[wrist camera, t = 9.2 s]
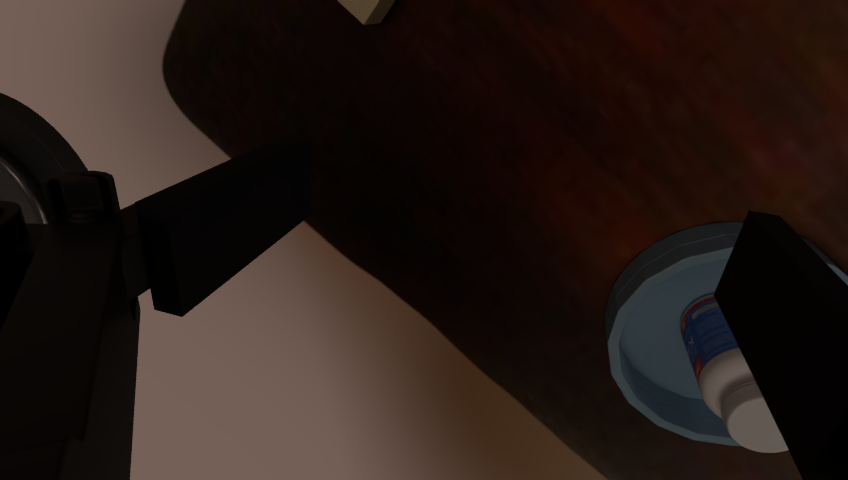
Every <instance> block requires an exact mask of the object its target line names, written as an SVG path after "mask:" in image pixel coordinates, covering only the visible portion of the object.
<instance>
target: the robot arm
mask: <svg viewBox="0 0 848 480" xmlns="http://www.w3.org/2000/svg"><path fill="white" fill-rule="evenodd" d="M311 214H312V151H311V136H305V135H300V134H294V133H289V134H286V135H284V136H282V137H280V138H278V139H275V140H273V141H271V142H269V143H266V144H264V145H262V146H260V147H257V148H255V149H253V150H251V151H249V152H246V153H244V154H242V155H240V156H237V157H235V158H233V159H231V160H228V161H226V162H224V163H222V164H219V165H218V166H215V167H213V168H211V169H208V170H206V171H204V172H202V173H199V174H197V175H195V176H193V177H190V178H188V179H186V180H184V181H182V182H179V183H177V184H175V185H173V186H170V187H168V188H166V189H164V190H162V191H159V192H157V193H155V194H152V195H150V196H148V197H146V198H144V199H142V200H139V201H137V202H135V203H134V204H132V205H130V206H128V207H126V208H124V209H121V210H120V207H119V202H118V197H117V192H116V187H115V182H114V178H113V176H112V175H110V174H108V173H106V172H99V171H75V172H67V173H62V174H57V175H54V176H51V177H49V178H46V179H44V180H43V181H42V182H41V183H40V184H39V182H38V181H37V180H36V178H35V177H34V176H33V174H32V173H31V172H30V171H29V170H28V169H27V167H26V166H25V165H24V164H23V163H22V162H21V161H20V160H19V159H18V158H16V157H15V156H14V155H13V154H12V153H11V152H9V151H8V150H7V149H5V148H4V147H2V146H1V145H0V480H130V467H131V451H132V435H133V417H134V404H135V387H136V372H137V356H138V340H139V323H140V306H139V301H138V296H139V295H141V294H142V293H144V292H145V291H147V290H148V289H151V294H152V299H153V305H154V309H155V310H158V311H162V312H166V313H170V314H173V315H177V316H181V317H183V316H184V315H185V314H186V313H188V312H189V311H190V310H191V309H193V308H194V307H195V306H197V305H198V304H199V303H200V302H201V301H203V300H204V299H205V298H207V297H208V296H209V295H210V294H212V293H213V292H214V291H215V290H217V289H218V288H219V287H220V286H222V285H223V284H224V283H225V282H227V281H228V280H229V279H230V278H232V277H233V276H234V275H235V274H237V273H238V272H239V271H241V270H242V269H243V268H244V267H246V266H247V265H248V264H249V263H251V262H252V261H253V260H254V259H256V258H257V257H258V256H259V255H261V254H262V253H263V252H264V251H266V250H267V249H268V248H270V247H271V246H272V245H273V244H274V243H276V242H277V241H278V240H280V239H281V238H282V237H283V236H285V235H286V234H287V233H288V232H290V231H291V230H292V229H293V228H295V227H296V226H297V225H298V224H300V223H301V222H302V221H303V220H305V219H306V218H307V217H309V216H310V215H311ZM714 297H715V299H716V301H717V303H718V305H719V307H720V309H721V311H722V314H723V316H724V318H725V320H726V322H727V324H728V326H729V328H730V330H731V332H732V334H733V336H734V338H735V340H736V342H737V344H738V347H739V349H740V351H741V353H742V355H743V357H744V359H745V361H746V363H747V365H748V367H749V369H750V371H751V373H752V375H753V377H754V379H755V382H756V384H757V386H758V388H759V390H760V392H761V394H762V396H763V398H764V400H765V402H766V404H767V406H768V408H769V410H770V412H771V415H772V417H773V419H774V421H775V423H776V425H777V427H778V429H779V431H780V433H781V435H782V437H783V439H784V441H785V443H786V445H787V447H788V450H789V452H790V454H791V456H792V458H793V460H794V462H795V464H796V466H797V468H798V470H799V472H800V474H801V476H802V478H803V480H848V285H847V284H846V283H845V282H844V281H843V280H842V279H841V278H840V277H839V276H838V275H837V274H836V273H835V272H834V271H833V270H832V269H831V268H830V267H829V266H828V265H827V264H826V263H825V262H824V261H823V260H822V259H821V257H820V256H819V255H818V254H817V253H816V252H815V251H814V250H813V249H812V248H811V247H810V246H809V245H808V244H807V243H806V242H805V241H804V240H803V239H802V238H801V237H800V236H799V235H798V234H797V233H796V232H795V231H794V230H793V229H792V228H791V227H790V226H789V225H788V224H787V223H786V222H785V221H784V220H783V219H782V218H781V217H780V216H777V215H771V214H766V213H760V212H754V211H748V214H747V216H746V219H745V221H744V223H743V226H742V228H741V231H740V233H739V235H738V238H737V240H736V242H735V245H734V247H733V250H732V252H731V254H730V257H729V259H728V262H727V264H726V266H725V269H724V271H723V273H722V276H721V278H720V281H719V283H718V285H717V288H716V290H715V293H714Z"/></svg>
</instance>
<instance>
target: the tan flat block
mask: <svg viewBox="0 0 848 480" xmlns="http://www.w3.org/2000/svg"><path fill="white" fill-rule="evenodd" d="M337 1H338V2H339V3H340V4H342V5H343V6H344V7H345V8H346V9H347V10H348V11H349V12H350V13H351V14H352V15H354V16H355V17H356V18H357V19H358V20H359V21H360V22H361V23H362V24H364V25H366V24H377V23H381V21H382V20H383V18H384V17H385V15H386V14H387V12H388V11H389V9H390V8H391V6H392V5H393V3H394V2H395V0H337Z"/></svg>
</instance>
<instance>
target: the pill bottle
mask: <svg viewBox="0 0 848 480" xmlns="http://www.w3.org/2000/svg"><path fill="white" fill-rule="evenodd" d="M680 330H681V335H682V339H683V342H684V344H685V347H686V351H687V353H688V356H689V359H690V362H691V365H692V368H693V371H694V374H695V377H696V380H697V383H698V386H699V390H700V392H701V395H702V397H703V400H704V402H705V403H706V405H707V406H708V407H709V409H710V410H711V411H712V412H713V413H715V414H716V415H717V416H719V417H720V418H722V419H723V421H724V423H725V425H726V427H727V430H728V432H729V434H730V436H731V437H732V438H733V439H734V440H735V441H736V442H737V443H738V444H740V445H741V446H743V447H745V448H747V449H750V450H753V451H757V452H764V453H776V452H782V451H787V450H788V447H787V445H786V443H785V441H784V439H783V437H782V435H781V433H780V431H779V429H778V427H777V425H776V423H775V421H774V419H773V417H772V415H771V412H770V410H769V408H768V406H767V404H766V402H765V400H764V398H763V396H762V394H761V392H760V390H759V388H758V386H757V384H756V382H755V379H754V377H753V375H752V373H751V371H750V369H749V367H748V365H747V363H746V361H745V359H744V357H743V355H742V353H741V351H740V349H739V347H738V344H737V342H736V340H735V338H734V336H733V334H732V332H731V330H730V328H729V326H728V324H727V322H726V320H725V318H724V316H723V314H722V311H721V309H720V307H719V305H718V303H717V301H716V299H715V297H714V294H710V295H707V296H704V297H702V298H700V299H698V300H696V301H695V302H693V303H692V304H691V305H690V306H689V307H688V308H687V309H686V310H685V312H684V314H683V316H682V318H681V323H680Z"/></svg>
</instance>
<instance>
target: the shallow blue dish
mask: <svg viewBox="0 0 848 480" xmlns="http://www.w3.org/2000/svg"><path fill="white" fill-rule="evenodd" d="M743 223H744V222H724V223H714V224H707V225H701V226H697V227H693V228H690V229H686V230H683V231H680V232H678V233H675V234H673V235H670V236H668V237H666V238H664V239H662V240H660V241H658V242H656V243H655V244H653V245H652V246H650V247H649V248H647V249H646V250H644V251H643V252H642V253H640V254H639V255H638V256H637V257H636V258H635V259H633V260H632V261H631V262H630V264H629V265H628V266H627V267H626V268H625V269H624V270H623V271H622V273H621V274H620V276H619V277H618V279H617V280H616V282H615V284H614V286H613V288H612V290H611V293H610V296H609V299H608V302H607V307H606V311H605V315H604V316H605V325H606V335H607V344H608V352H609V361H610V369H611V374H612V376H613V378H614V380H615V381H616V383H617V385H618V386H619V388H620V390H621V391H622V393H623V394H624V396H625V398H626V399H627V401H628V402H629V403H630V404H631V405H632V406H633V407H635V408H636V409H637V410H638V411H640V412H641V413H642V414H643V415H645V416H646V417H647V418H648V419H650V420H651V421H652V422H653V423H655V424H656V425H657V426H660V427H662V428H665V429H667V430H670V431H672V432H674V433H677V434H679V435H682V436H684V437H687V438H689V439H692V440H696V441H703V442H710V443H717V444H724V445H731V446H741V445H740V444H738V443H737V442H736V441H735V440H734V439H733V438H732V437H731V436H730V434H729V432H728V430H727V427H726V425H725V423H724V421H723V419H722V418H720V417H719V416H717V415H716V414H715V413H713V412H712V411H711V410H710V409H709V407H708V406H707V405H706V403H705V402H704V400H703V397H702V395H701V392H700V390H699V386H698V383H697V380H696V377H695V374H694V371H693V368H692V365H691V362H690V359H689V356H688V353H687V351H686V347H685V344H684V342H683V339H682V335H681V330H680V323H681V318H682V316H683V314H684V312H685V310H686V309H687V308H688V307H689V306H690V305H691V304H692V303H693V302H695V301H696V300H698V299H700V298H702V297H704V296H707V295H710V294H714V293H715V290H716V288H717V285H718V283H719V281H720V278H721V276H722V273H723V271H724V269H725V266H726V264H727V262H728V259H729V257H730V254H731V252H732V250H733V247H734V245H735V242H736V240H737V238H738V235H739V233H740V231H741V228H742V226H743ZM801 238H802V237H801ZM802 239H803V240H804V241H805V242H806V243H807V244H808V245H809V246H810V247H811V248H812V249H813V250H814V251H815V252H816V253H817V254H818V255H819V256H820V257H821V259H822V260H823V261H824V262H825V263H826V264H827V265H828V266H829V267H830V268H831V269H832V270H833V271H834V272H835V273H836V274H837V275H838V276H839V277H840V278H841V279H842V280H843V281H844V282H845V283H846V284H847V285H848V273H847V272H846V271H845V270H844V269H843V268H842V267H840V266H839V265H838V264H837V263H836V262H835V261H834V260H832V259H831V258H830V257H829V256H828V255H827V254H825V253H824V252H823V251H822V250H821V249H819V248H818V247H817V246H816V245H815V244H814V243H812V242H811V241H809V240H808V239H805V238H802Z"/></svg>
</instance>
